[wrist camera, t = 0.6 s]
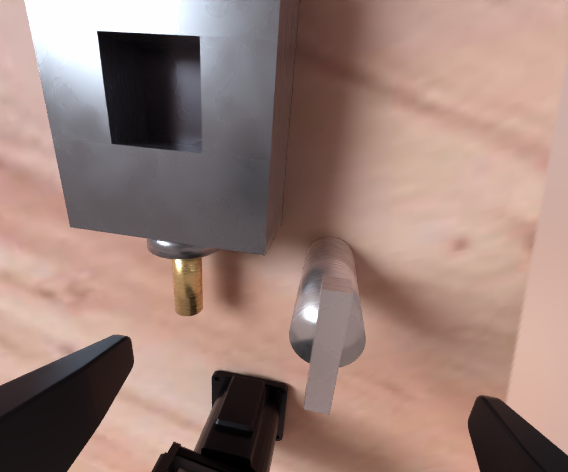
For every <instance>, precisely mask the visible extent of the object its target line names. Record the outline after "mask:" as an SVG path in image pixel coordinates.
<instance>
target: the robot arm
mask: <svg viewBox="0 0 568 472" xmlns="http://www.w3.org/2000/svg"><path fill="white" fill-rule="evenodd" d="M133 364H134V356H133V349H132V342H131V339H130V337H128V336H123V335H112V336H110V337H108V338H106V339H103V340H101V341H99V342H97V343H94V344H92V345H90V346H88V347H86V348H83V349H81V350H79V351H77V352H74V353H72V354H70V355H68V356H65V357H63V358H61V359H59V360H56V361H54V362H52V363H50V364H48V365H45V366H43V367H41V368H39V369H36V370H34V371H32V372H30V373H27V374H25V375H23V376H21V377H18V378H16V379H14V380H12V381H10V382H7V383H5V384H3V385H1V386H0V472H67V471H68V469H69V468H70V467H71V465H72V464H73V462H74V461H75V459H76V458H77V456H78V455H79V454H80V452H81V451H82V449H83V448H84V446H85V445H86V444H87V442H88V441H89V439H90V438H91V436H92V435H93V433H94V432H95V430H96V429H97V427H98V426H99V424H100V423H101V421H102V420H103V418H104V416H105V415H106V413H107V411H108V409H109V408H110V406H111V404H112V402H113V401H114V399H115V397H116V396H117V394H118V392H119V390H120V389H121V387H122V385H123V383H124V382H125V380H126V378H127V377H128V375H129V373H130V371H131V369H132V367H133ZM287 394H288V387H287V385H285V384H283V383H278V382H273V381H268V380H263V379H258V378H253V377H248V376H243V375H238V374H233V373H228V372H223V371H215V372H214V373H213V376H212V410H211V412H210V415H209V417H208V419H207V422H206V424H205V426H204V428H203V431H202V433H201V435H200V438H199V440H198V442H197V445H196V447H195V449H194V451H192V450H190V449H187V448H185V447H182V446H181V444H179V443H176V442H173V444H172V446H171V448H170V449H169V451H168V453H166V452H165V453H164V454H161V455H160V457H159V459H158V461H157V463H156V464H155V466H154V468H153V470H152V472H269V471H270V466H271V461H272V456H273V450H274V445H275V441H280V440H282V436H283V428H284V420H285V411H286V403H287ZM468 429H469V433H470V437H471V441H472V444H473V448H474V451H475V455H476V458H477V462H478V466H479V469H480V472H568V455H566V454H565V453H564V452H563V451H562V450H560V449H559V448H558V447H557V446H556V445H554V444H553V443H552V442H551V441H550V440H548V439H547V438H546V437H545V436H543V435H542V434H541V433H540V432H539V431H538V430H536V429H535V428H534V427H533V426H532V425H530V424H529V423H528V422H527V421H526V420H524V419H523V418H522V417H521V416H520V415H518V414H517V413H516V412H515V411H514V410H512V409H511V408H510V407H509V406H508V405H506V404H505V403H504V402H503V401H501V400H500V399H498V398H495V397H489V396H483V395H480V396H478V397H477V398H476V400H475V403H474V406H473V408H472V411H471V414H470V416H469V419H468Z"/></svg>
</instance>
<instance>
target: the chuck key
mask: <svg viewBox="0 0 568 472" xmlns="http://www.w3.org/2000/svg"><path fill="white" fill-rule="evenodd" d="M289 338H290V343H291V345H292V348H293V349H294V351H295V352H296V353H297V354H298V355H299V356H300V357H301V358H302V359H303V360H305V361H306V362H308V363H310V364H309V371H308V378H307V385H306V392H305V401H304V410H309V411H313V412H318V413H323V414H328V415H329V414H330V409H331V404H332V399H333V394H334V389H335V383H336V378H337V373H338V368H339V367H343V366H346V365H348V364H350V363H352V362H354V361H355V360H356V359H357V358H358V357H359V356H360V355H361V353H362V352H363V350H364V347H365V342H366V340H365V331H364V324H363V317H362V310H361V303H360V296H359V289H358V282H357V275H356V268H355V261H354V255H353V251H352V249H351V248H350V246H349V245H348V244H347V243H346V242H345V241H343V240H341V239H339V238H336V237H323V238H320V239H318V240H316V241H315V242H313V243H312V244H311V245H310V247H309V248H308V250H307V254H306V258H305V263H304V267H303V272H302V276H301V281H300V285H299V290H298V295H297V299H296V304H295V308H294V313H293V317H292V322H291V326H290V331H289Z"/></svg>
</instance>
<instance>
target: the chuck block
mask: <svg viewBox="0 0 568 472" xmlns="http://www.w3.org/2000/svg"><path fill="white" fill-rule="evenodd" d="M299 1H300V0H25V4H26V9H27V14H28V19H29V24H30V29H31V34H32V39H33V43H34V48H35V53H36V58H37V63H38V68H39V73H40V78H41V83H42V88H43V93H44V98H45V103H46V108H47V113H48V118H49V123H50V128H51V133H52V138H53V143H54V148H55V153H56V158H57V163H58V168H59V173H60V178H61V183H62V188H63V193H64V198H65V203H66V208H67V213H68V218H69V223H70V227H73V228H80V229H87V230H94V231H101V232H108V233H114V234H121V235H128V236H135V237H142V238H147V246H148V250H149V251H150V252H151V253H152V254H154V255H156V256H159V257H162V258H167V259H172V269H173V283H174V298H175V311H176V313H177V314H179V315H182V316H192V315H195V314H198V313H199V312H200V311H201V310H202V309H203V291H202V257H204V256H207V255H210V254H213V253H215V252H216V251H218V250H219V249H224V250H231V251H238V252H245V253H252V254H259V255H265V253H266V251H267V249H268V248H269V246H270V244H271V242H272V240H273V238H274V237H275V235H276V233H277V231H278V229H279V227H280V225H281V220H282V208H283V195H284V183H285V171H286V159H287V147H288V135H289V122H290V110H291V98H292V86H293V74H294V62H295V49H296V37H297V25H298V13H299Z"/></svg>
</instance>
